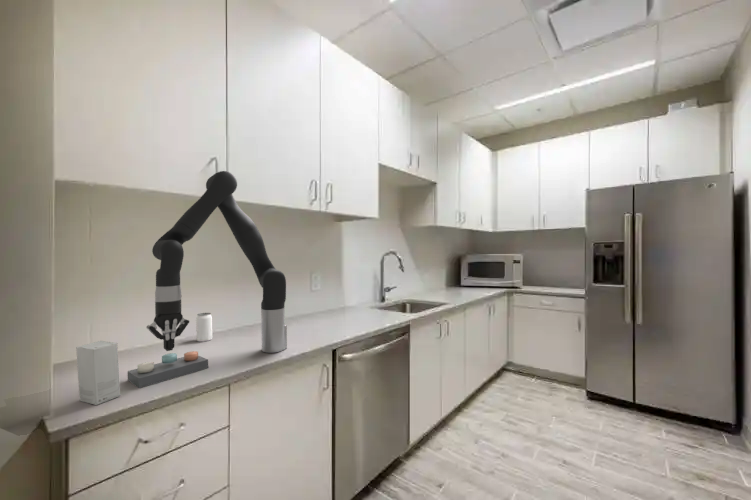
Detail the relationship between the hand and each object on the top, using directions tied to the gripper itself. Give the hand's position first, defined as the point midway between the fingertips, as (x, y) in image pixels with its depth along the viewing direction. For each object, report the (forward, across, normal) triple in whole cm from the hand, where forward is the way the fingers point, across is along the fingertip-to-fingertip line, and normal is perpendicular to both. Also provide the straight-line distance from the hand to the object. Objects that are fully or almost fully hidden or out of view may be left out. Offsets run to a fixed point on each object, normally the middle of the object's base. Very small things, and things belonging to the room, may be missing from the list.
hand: (169, 350), depth 114 cm
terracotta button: (+5, -7, 0) cm, 9 cm away
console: (+8, 0, 0) cm, 8 cm away
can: (+8, -27, -32) cm, 43 cm away
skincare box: (+8, +20, +4) cm, 22 cm away
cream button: (+5, +7, 0) cm, 8 cm away
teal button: (+4, 0, 0) cm, 4 cm away
